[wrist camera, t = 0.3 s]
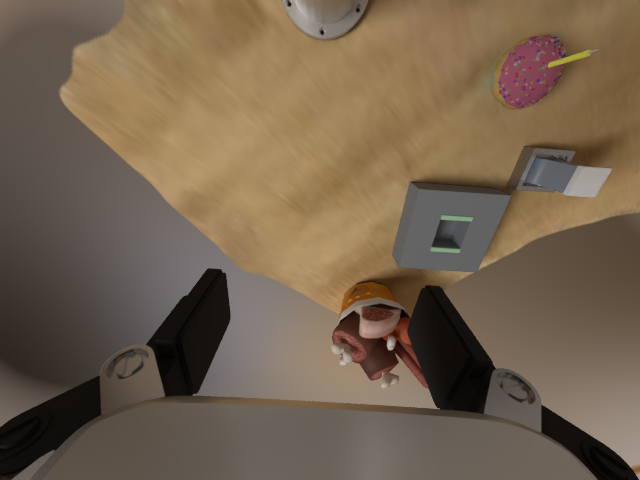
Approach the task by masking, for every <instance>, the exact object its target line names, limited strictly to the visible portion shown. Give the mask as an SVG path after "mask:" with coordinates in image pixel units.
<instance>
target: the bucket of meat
mask: <svg viewBox="0 0 640 480" xmlns="http://www.w3.org/2000/svg"><path fill="white" fill-rule="evenodd" d="M410 319H411V318H410V317H409V315H408V314H407V312H406V311H405V309H404V308H403V306H401V305H400V303H399V302H398V301H397V300H396V298H395V297H394V296H393V295H392V293H391V292H390V291H389V289H388V288H387V287H386V286H384V285H380V284H377V283H374V282H367V283H362V284H357V285H355V286H354V287H352V288H351V289H350V290H349V291H347V292H346V293H345V295H344V299H343V303H342V307H341V312H340V317H339V323H338V326H337V327H336V329H335V330H334V332H333V336H332V339H333V345H332V346H331V348H332V351H333V353H335V354H338V355H340V354H341V355H342V357H341V358H340V364H341V365H347V364H348V363H351V362H352V361H353V362H355V363H359V364H360V365H361V367H362V368H363V370H364V371H365V373H366V374H367V376H368V377H369V379H370V380H376V379H379V378H381V377H382V380H381V384H380V386H381V387H382V388H387V387H389V386H390V383H392V384H396V383H397V382H398V381H399V376H397V375H394V374H391V373H389V372H390V371H391V370H392V369H393V368H394V367H395V366H396V365H397V364H398V363H399V362H398V360H397V357H396V355H395V353H396V354H397V355H398V356H399V357H400V358H401V359H402V361H403V362H404V363H405V364H406V365H407V367H408V368H409V369H410V370H411V372H412V373H413V374H414V375H415V376H416V378H417V379H418V380H419V381H420V383H421V384H422V385H423V386H424V387H426V388H428V385H427V383H426V380H425V378H424V375H423V373H422V370H421V368H420V365H419V362H418V360H417V357H416V355H415V352H414V350H413V347H412V345H411V342H410V340H409V337H408V334H407V328H408V325H409V322H410ZM428 389H429V388H428Z"/></svg>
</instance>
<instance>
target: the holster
mask: <svg viewBox="0 0 640 480" xmlns="http://www.w3.org/2000/svg"><path fill="white" fill-rule="evenodd" d="M575 152H576V151H571V150H564V149H551V148H538V147H525V146H524V148H523V150H522V152H521V155H520V157H519V159H518V162H517V164H516V166H515V168H514V171H513V173H512V175H511V178H510V180H509V182H508V185H507V187H510V188H512V189H515V190H524V191H538V192H552V193H554V192H555V190H552V189H548V188H545V187H542V186H539V185H536V184H533V183H530V182H527V181H525V179H526V177H527V174H528V172H529V170H530V168H531V166H532V164H533V161H534V159H535V157H540V158H553V159H558V160H564V161H569V162H571V160H572V158H573V156H574V154H575Z"/></svg>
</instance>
